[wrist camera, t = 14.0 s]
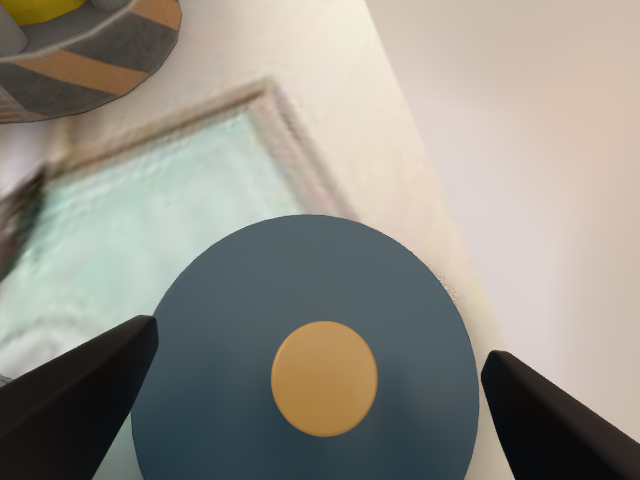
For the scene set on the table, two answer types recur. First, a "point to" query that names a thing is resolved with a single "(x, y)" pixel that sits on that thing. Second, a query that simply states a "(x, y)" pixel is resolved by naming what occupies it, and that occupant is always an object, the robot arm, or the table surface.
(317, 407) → the lid
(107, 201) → the table surface
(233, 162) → the table surface
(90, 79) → the cage light
